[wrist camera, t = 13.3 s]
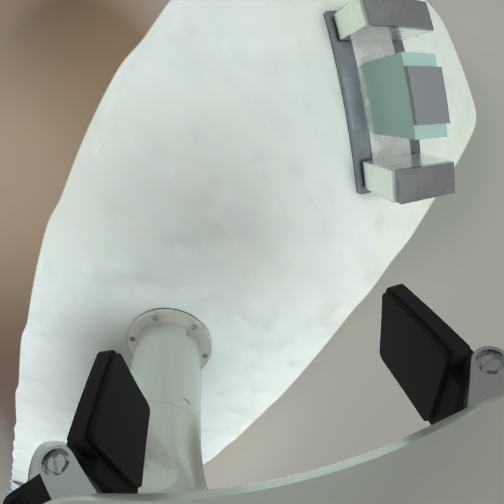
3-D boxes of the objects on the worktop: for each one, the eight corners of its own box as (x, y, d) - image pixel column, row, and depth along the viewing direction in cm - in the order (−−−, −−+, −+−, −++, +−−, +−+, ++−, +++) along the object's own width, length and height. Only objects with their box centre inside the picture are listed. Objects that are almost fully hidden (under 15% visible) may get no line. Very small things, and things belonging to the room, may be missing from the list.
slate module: (392, 63, 31) (438, 53, 23) (403, 130, 35) (451, 137, 26) (361, 64, 31) (403, 51, 22) (373, 134, 35) (418, 140, 26)
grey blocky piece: (417, 180, 40) (460, 197, 31) (357, 192, 39) (393, 212, 31) (390, 15, 30) (430, -2, 21) (323, 13, 30) (354, -13, 21)
